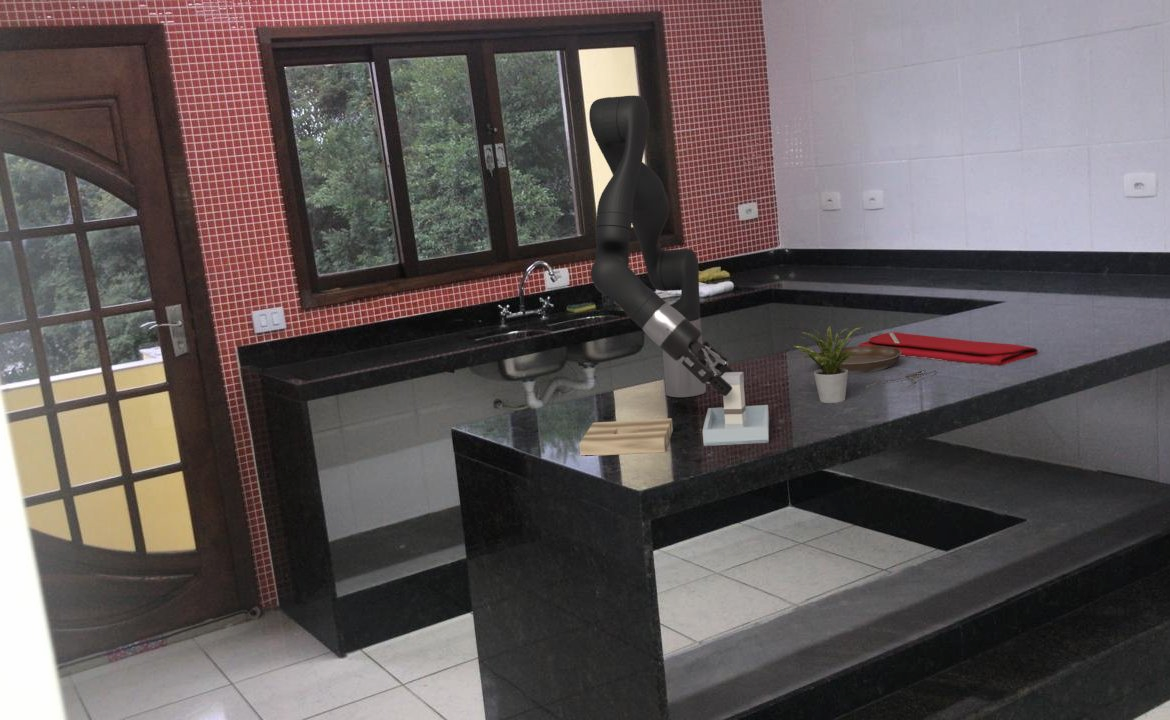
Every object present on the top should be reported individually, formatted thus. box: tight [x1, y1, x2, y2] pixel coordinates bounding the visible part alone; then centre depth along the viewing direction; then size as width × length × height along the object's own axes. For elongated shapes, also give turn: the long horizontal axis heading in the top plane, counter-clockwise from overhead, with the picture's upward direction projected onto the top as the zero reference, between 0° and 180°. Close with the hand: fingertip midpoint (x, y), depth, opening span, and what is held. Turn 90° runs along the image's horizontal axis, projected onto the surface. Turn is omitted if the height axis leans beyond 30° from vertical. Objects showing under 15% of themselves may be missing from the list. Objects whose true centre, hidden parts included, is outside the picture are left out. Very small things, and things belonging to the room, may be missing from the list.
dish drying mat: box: [858, 331, 1039, 367], centre depth 263 cm, size 16×41×4 cm, turn 36°
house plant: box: [793, 325, 863, 404], centre depth 226 cm, size 14×14×16 cm
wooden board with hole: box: [578, 417, 674, 456], centre depth 207 cm, size 16×16×2 cm
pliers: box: [865, 369, 937, 390], centre depth 238 cm, size 10×1×20 cm
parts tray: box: [702, 404, 770, 447], centre depth 207 cm, size 18×12×3 cm, turn 170°
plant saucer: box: [817, 345, 901, 374], centre depth 258 cm, size 21×21×3 cm
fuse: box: [720, 371, 747, 428], centre depth 206 cm, size 4×4×11 cm
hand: (733, 387), depth 206 cm, fingers open, 8 cm apart
